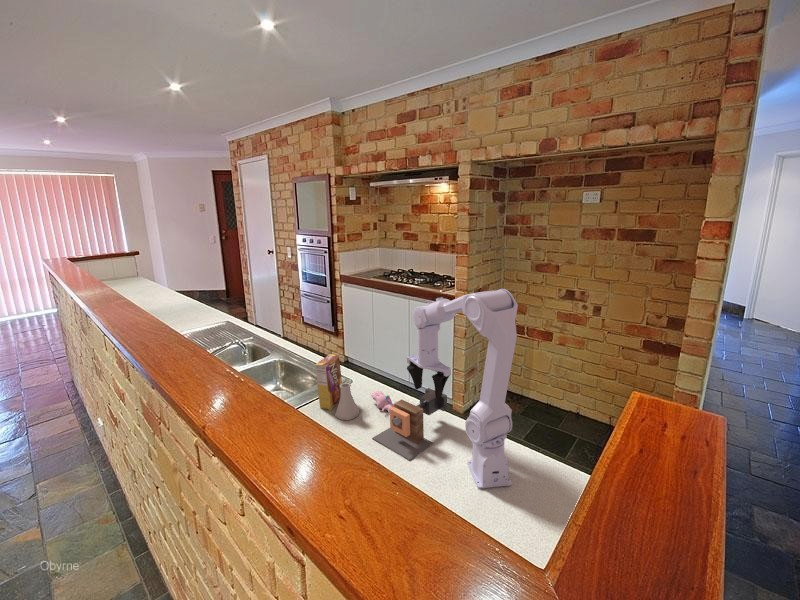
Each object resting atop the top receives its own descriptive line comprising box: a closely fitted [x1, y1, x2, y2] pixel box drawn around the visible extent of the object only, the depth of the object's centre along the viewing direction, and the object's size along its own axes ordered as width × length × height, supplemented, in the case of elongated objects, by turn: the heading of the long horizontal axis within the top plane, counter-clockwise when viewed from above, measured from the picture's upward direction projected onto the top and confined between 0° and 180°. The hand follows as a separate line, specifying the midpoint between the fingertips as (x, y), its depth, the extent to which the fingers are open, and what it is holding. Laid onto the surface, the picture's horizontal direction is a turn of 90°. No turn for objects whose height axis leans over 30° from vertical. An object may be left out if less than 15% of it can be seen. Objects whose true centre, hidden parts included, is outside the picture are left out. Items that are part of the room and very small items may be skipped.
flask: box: [334, 382, 360, 421], centre depth 120 cm, size 7×7×10 cm
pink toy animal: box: [369, 390, 394, 416], centre depth 123 cm, size 6×6×15 cm
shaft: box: [392, 387, 448, 426], centre depth 109 cm, size 18×7×4 cm, turn 135°
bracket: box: [393, 399, 425, 444], centre depth 107 cm, size 3×8×9 cm, turn 46°
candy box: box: [314, 354, 343, 410], centre depth 127 cm, size 9×4×15 cm, turn 160°
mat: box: [371, 427, 434, 461], centre depth 107 cm, size 10×14×1 cm
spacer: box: [389, 407, 410, 437], centre depth 105 cm, size 2×6×6 cm, turn 45°
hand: (428, 392), depth 112 cm, fingers open, 7 cm apart
